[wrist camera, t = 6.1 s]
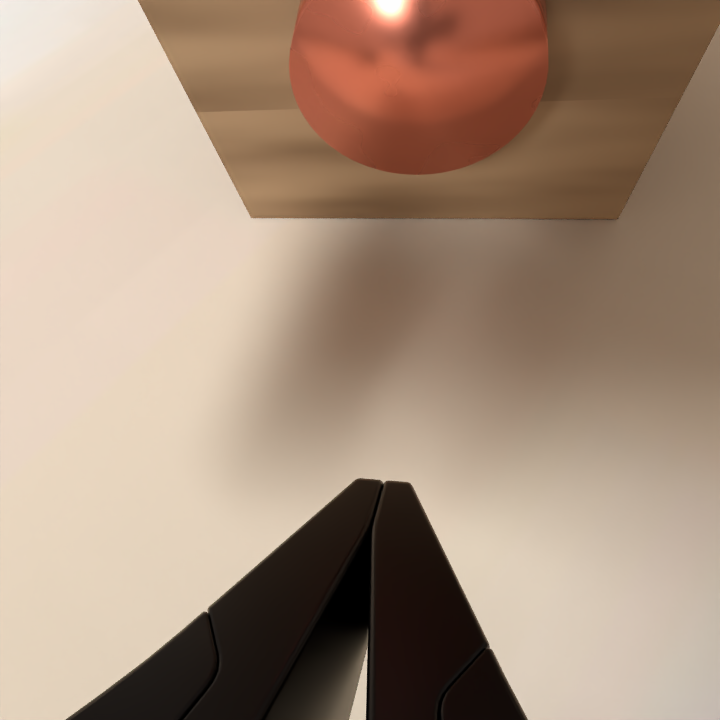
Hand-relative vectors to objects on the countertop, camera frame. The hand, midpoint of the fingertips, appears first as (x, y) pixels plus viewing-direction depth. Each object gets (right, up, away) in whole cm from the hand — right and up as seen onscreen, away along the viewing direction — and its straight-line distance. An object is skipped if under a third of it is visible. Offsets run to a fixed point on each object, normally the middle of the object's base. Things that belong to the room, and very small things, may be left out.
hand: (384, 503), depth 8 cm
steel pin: (+2, +14, +8) cm, 17 cm away
